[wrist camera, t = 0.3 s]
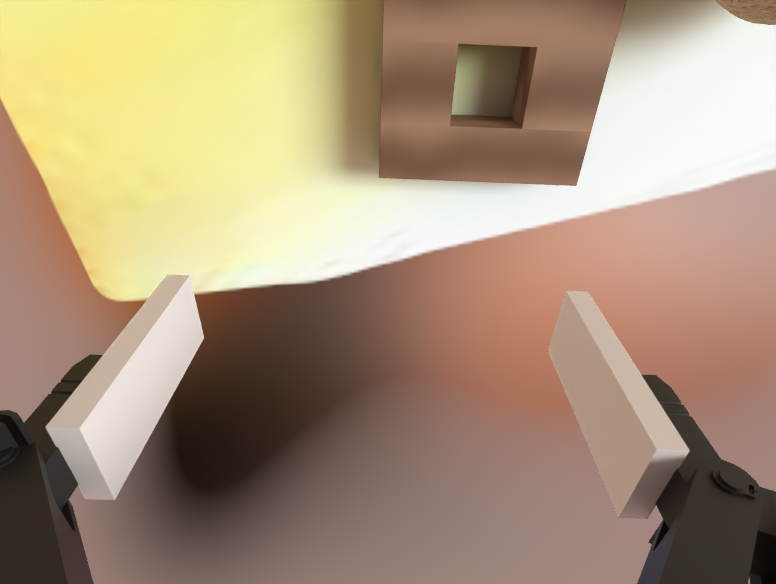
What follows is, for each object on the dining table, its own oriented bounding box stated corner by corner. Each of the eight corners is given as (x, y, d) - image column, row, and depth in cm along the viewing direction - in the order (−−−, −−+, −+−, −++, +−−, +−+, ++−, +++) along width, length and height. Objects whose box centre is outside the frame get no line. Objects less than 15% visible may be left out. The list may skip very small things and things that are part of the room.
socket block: (388, -106, 31) (387, -118, 27) (626, -95, 31) (655, -106, 27) (380, 162, 40) (379, 177, 37) (561, 169, 40) (576, 185, 37)
